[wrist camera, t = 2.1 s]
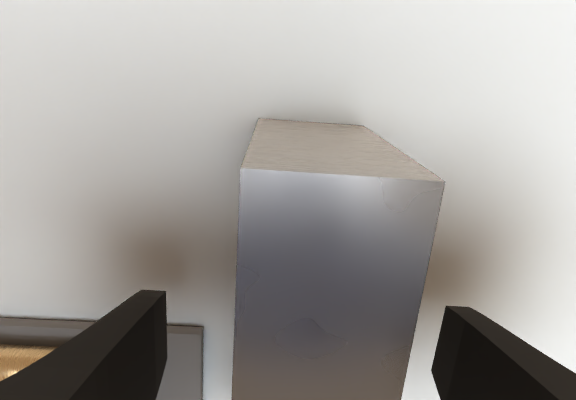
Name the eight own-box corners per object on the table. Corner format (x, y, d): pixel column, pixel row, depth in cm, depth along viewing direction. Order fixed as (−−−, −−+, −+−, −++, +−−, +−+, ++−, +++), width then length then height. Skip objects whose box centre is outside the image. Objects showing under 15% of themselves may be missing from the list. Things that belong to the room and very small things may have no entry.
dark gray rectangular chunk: (244, 396, 15) (223, 607, 9) (258, 117, 11) (239, 168, 6) (327, 399, 15) (357, 610, 9) (362, 125, 12) (445, 181, 6)
